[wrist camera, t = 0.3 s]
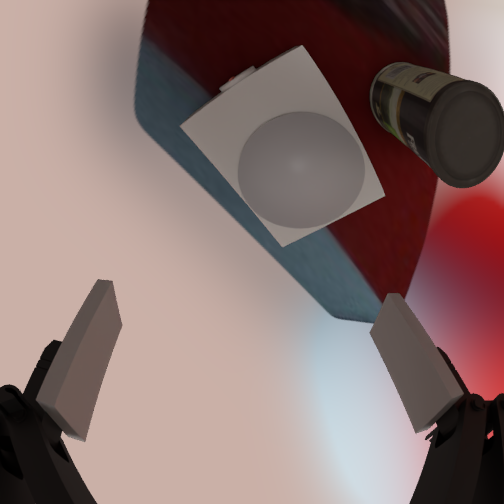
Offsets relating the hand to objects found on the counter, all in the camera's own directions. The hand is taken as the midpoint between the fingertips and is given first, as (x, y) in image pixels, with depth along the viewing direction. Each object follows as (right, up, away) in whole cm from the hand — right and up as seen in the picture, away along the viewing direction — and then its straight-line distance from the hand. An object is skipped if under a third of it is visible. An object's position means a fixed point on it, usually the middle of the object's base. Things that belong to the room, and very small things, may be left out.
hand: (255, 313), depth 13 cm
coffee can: (+19, +22, +15) cm, 32 cm away
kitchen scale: (+4, +16, +20) cm, 26 cm away
